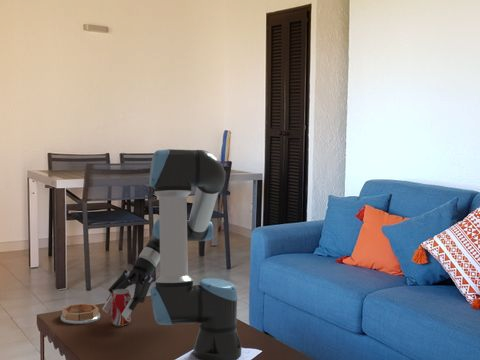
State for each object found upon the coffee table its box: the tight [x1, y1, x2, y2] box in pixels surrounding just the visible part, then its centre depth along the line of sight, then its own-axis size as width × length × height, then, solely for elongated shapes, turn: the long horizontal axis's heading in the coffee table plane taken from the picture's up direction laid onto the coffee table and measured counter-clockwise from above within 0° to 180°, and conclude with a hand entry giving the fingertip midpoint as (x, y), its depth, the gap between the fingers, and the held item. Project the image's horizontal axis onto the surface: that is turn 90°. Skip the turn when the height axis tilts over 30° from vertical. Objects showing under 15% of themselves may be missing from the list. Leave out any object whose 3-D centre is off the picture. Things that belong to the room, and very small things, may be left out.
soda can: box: [110, 288, 132, 327], centre depth 215 cm, size 7×7×12 cm
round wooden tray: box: [60, 302, 101, 325], centre depth 221 cm, size 14×14×4 cm
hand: (114, 313), depth 213 cm, fingers open, 9 cm apart
